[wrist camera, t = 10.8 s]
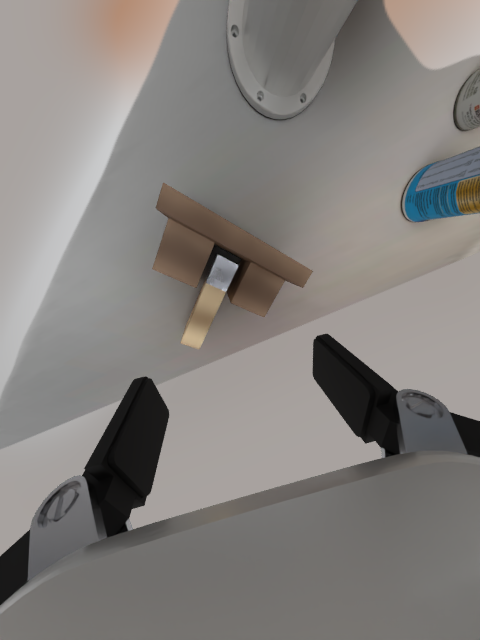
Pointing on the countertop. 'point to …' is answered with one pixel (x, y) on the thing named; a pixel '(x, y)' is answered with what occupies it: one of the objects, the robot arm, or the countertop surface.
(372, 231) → the countertop surface
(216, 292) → the silver and tan rail
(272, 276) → the wooden two-prong bracket
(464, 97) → the spray can
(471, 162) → the beverage bottle
